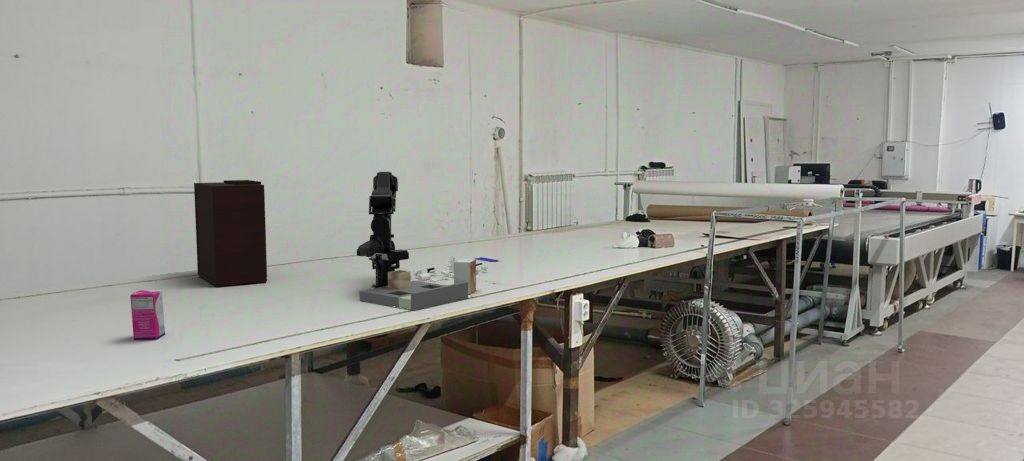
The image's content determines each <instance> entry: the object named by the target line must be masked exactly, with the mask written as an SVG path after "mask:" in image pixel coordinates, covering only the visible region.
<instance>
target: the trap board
mask: <svg viewBox="0 0 1024 461" xmlns="http://www.w3.org/2000/svg"><path fill="white" fill-rule="evenodd" d="M464 298H466V299H469V294H468V282H462V283H457V284H454V283H453V284H449V285H446V284H441V283H440V284H439V283H435V282H426V281H418V280H413V281H412V280H411V287H409V288H404V289H393V288H388V286H384V287H374V288H369V289H365V290H364V289H363V290H359V301H360V302H365V303H369V304H370V303H371V304H376V305H381V306H386V305H388V306H387V307H392V306H395V307H394V308H397V307H401V308H400V309H403V308H406V309H405V310H408V309H410V311H417V310H422V309H426V308H427V309H428V308H431V307H435V306H439V305H440V306H441V305H443V304H448V303H447V302H449V303H452V302H451V301H453V302H455V301H454V300H457V301H459V300H458V299H462V300H465V299H464Z"/></svg>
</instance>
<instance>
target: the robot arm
mask: <svg viewBox="0 0 1024 461" xmlns="http://www.w3.org/2000/svg"><path fill="white" fill-rule="evenodd" d="M392 173H393V172H391V171H379V172H377V173H376V175H375V176H374V177H373V178H372V183H373V184H372V187H373V189H372V191H371V195H369V197H368V198H369V199H368V200H369V201H368V202H369V203H368V215H373V217H372V220H371V222H370V229H371V232H372V234H369V235H370V236H369V240H367V241H365V242H364V243H361V244H360V245H359V246H357V249H356V256H357V257H367V258H368V260H369V261H371V267H372V268H371V269H372V270H375V284H372V287H374V288H379V287H384V286H388V272H391V271H396V270H399V269H400V263H401V261H404V260H409V259H410V253H409V251H408V250H407V249H396V244H395V242H394V240H392V238H393V239H394V238H395V233H393V234H392V215H394V213H395V212H396V205H397V203H396V202H397V201H396V200H397V192H399V180H398V177H397V176H395V175H394V174H392Z"/></svg>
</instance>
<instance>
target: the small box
mask: <svg viewBox="0 0 1024 461" xmlns="http://www.w3.org/2000/svg"><path fill="white" fill-rule="evenodd" d="M476 264H477V260H476V259H475V258H459V259H458V260H455V262H454V273H453V275H454V277H453V284H457V283H462V282H468V295H471V294H472V293H474V292H476V291H477V274H476V269H477V266H476Z"/></svg>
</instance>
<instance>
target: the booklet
mask: <svg viewBox="0 0 1024 461" xmlns="http://www.w3.org/2000/svg"><path fill="white" fill-rule="evenodd" d="M474 259H476V261H483V262H489V263H495V262H499V261H500V260H498V259H493V258H489V257H482V256H479V257H475V258H474ZM452 262H453V260H452Z"/></svg>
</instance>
